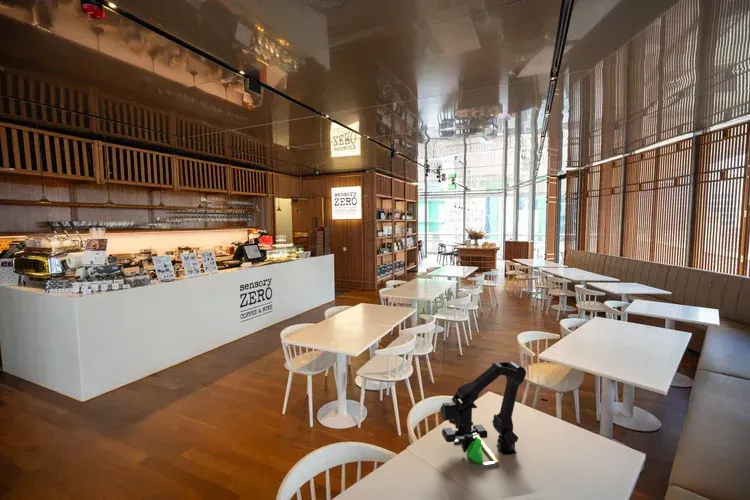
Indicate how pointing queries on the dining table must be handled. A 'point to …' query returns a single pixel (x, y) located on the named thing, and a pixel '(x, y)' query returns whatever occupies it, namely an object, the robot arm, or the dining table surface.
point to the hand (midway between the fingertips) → (464, 451)
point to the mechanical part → (475, 450)
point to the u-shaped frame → (485, 464)
